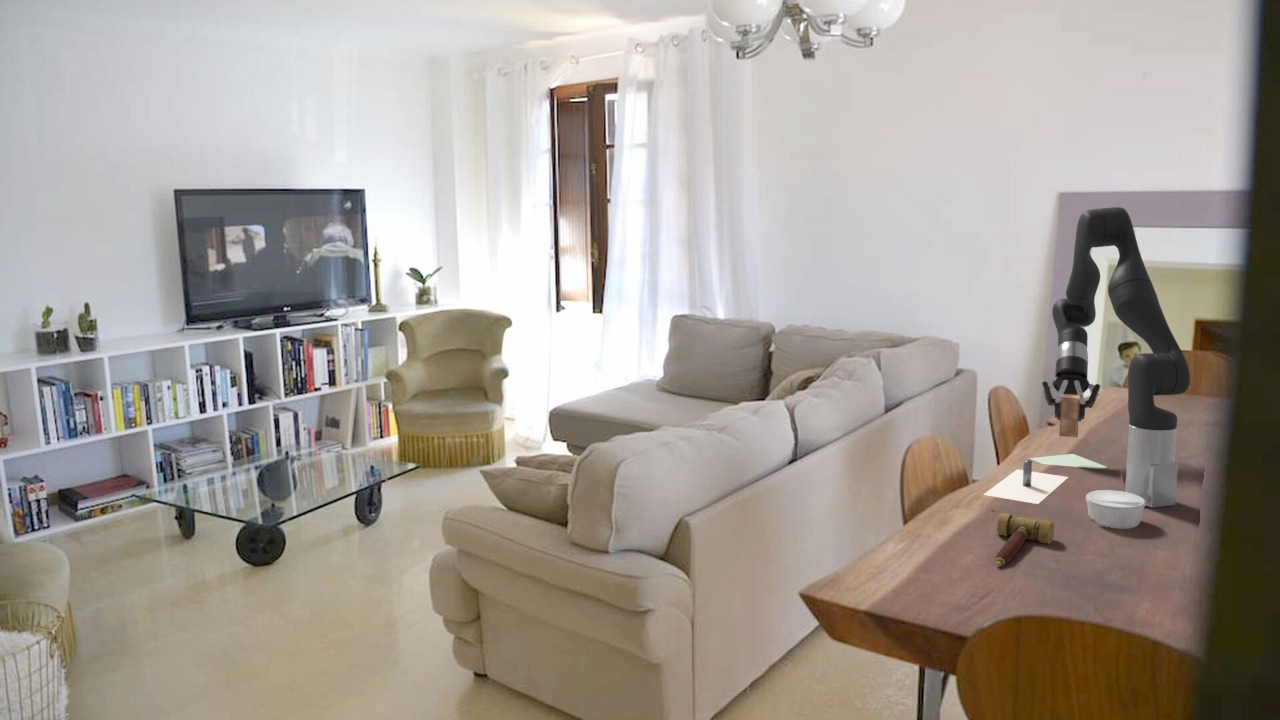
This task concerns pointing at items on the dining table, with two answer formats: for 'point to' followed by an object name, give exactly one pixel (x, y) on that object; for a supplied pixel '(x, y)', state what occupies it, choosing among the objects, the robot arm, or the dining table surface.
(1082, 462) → the mat
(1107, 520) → the ramekin
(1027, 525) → the gavel
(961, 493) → the dining table surface
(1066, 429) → the tan recessed-panel box
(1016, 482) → the hook board
